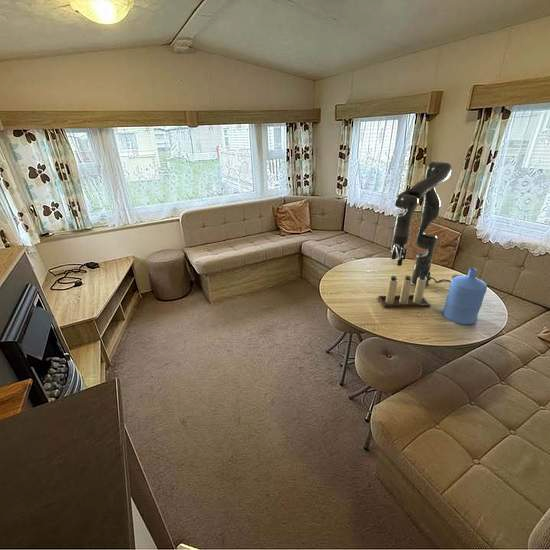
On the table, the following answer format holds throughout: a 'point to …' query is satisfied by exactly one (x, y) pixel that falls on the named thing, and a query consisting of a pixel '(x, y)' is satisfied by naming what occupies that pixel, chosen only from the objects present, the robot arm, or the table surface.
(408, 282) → the bottle
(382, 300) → the tray
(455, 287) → the water jug
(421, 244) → the robot arm
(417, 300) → the bottle
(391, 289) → the cream pillar candle
